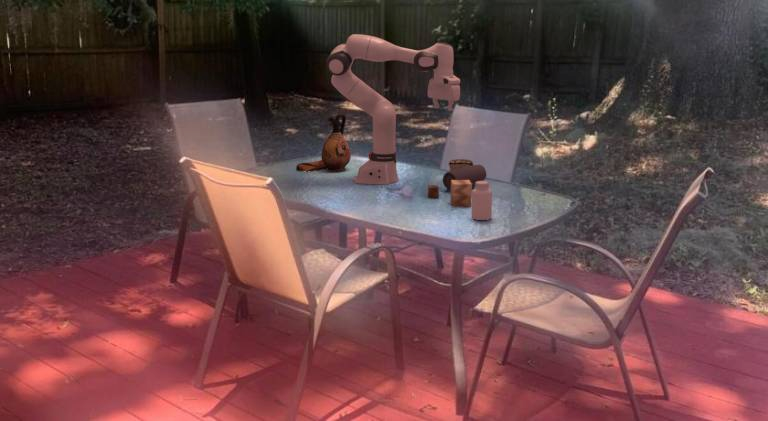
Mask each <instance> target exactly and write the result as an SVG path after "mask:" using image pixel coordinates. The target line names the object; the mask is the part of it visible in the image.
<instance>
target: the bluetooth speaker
mask: <svg viewBox="0 0 768 421" xmlns="http://www.w3.org/2000/svg"><path fill="white" fill-rule="evenodd" d="M486 178H487V170H486V168H485V166H484V165H481V164H473V165H472V166H467V167H463V168H459V169H455V170H452V171H450V170H449V171H446V172H445V173H444V174H443V177H442V185H443V187H444V188H446V189H447V190H450V191H451V180H470V182H471V184H472V188H473V187H474V185H475V183H476V182H477V181H486V180H485V179H486Z"/></svg>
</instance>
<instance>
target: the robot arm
mask: <svg viewBox="0 0 768 421" xmlns="http://www.w3.org/2000/svg"><path fill="white" fill-rule="evenodd" d="M357 59H361V60H365V61H368V62H377V63H380V62H381V63H383V62H388V61H399V62H402V63H403V62H404V63H409V64H413V66H414V67H415V69H416V70H417V71H419V72H423V73H424V72H425V73H427V72H429V71H433V77H431V78H430V79H429V83H428V87H427V93H426V94H427V98H429V99H432V102H433V105H434V106H433V107H434V109H440V104H439V102H438V101H439V100H443V101H447V103H448V105H446V110H447V111H450V112H451V111H452V110H453V106H454V104H455V102H457V101H459V100H460V98H461V86H460V84H461V79H460V78H459V77H457V76H456V75H454V68H453V66H454V48H453V46H452V45H451V44H450V43H446V42H436V43H434V45H432V46H430V47H428V48H423V49H411V48H408V47H403V46H402V47H401V46H398V45H395V44H393V43H392V42H389V41H387V40H385V39H383V38H380V37H377V36H372V35H367V34H357V33H356V34H355V33H354V34H351V35H350V36H348V38H347V40H346V42H341V43H339V44H337V45H336V46H335V47H334V48H333V50H332V51H331V52H330V55H329V56H328V57H327V60H326V68H327V70H328V72H329V73H330V74H332V76H331V80H330V81H331V85H332V86H333V87H334V88H335V89H336V90H337V91H338V92H339V93H340V94H341V95H342V96H343V97H345V98H346V99H347V100H349V101H350V102H351V103H352V104H353V105H354V106H356V107H357V108H359V109H360V110H362V111H364V112H365V113H367V115H369V116H371V117H372V151H369V152H368V153H367V155H368V160H367V161H366V162H365V163H363V164H362V165H361V166H360V167H359V168H358V172H357V175H356V176H354V177H353V182H354V184H363V185H388V184H392V183H396V182H399V180H400V178H399V176H398V170H397V163H398V162H397V160H398V159H397V156H398V155H397V152H396V126H397V125H396V124H397V121H396V120H397V116H396V115H397V114H396V113H397V112H396V108H395V106H394V105H393V103H392V102H391V101H389V100H388V99H387V98H385V97H384V96H383V95H381V94H380V93H378V92H377V91H376V90H374V89H373V88H371V86H369V85H368V84H366V82H364V81H363V80H362V79H360V78H359V77H358V76H356V75H355V74H354V73H353V71H352V68H353V66H354V63H355V61H356V60H357Z"/></svg>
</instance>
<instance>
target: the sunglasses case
mask: <svg viewBox="0 0 768 421" xmlns="http://www.w3.org/2000/svg"><path fill="white" fill-rule="evenodd" d="M295 169H296V171H297V170H301V171H306V173H309V172H308V171H311V172H314V170H316V171H320V170H321V171H322V170H326V169H327V167H326V166H325V165H324V163H323V161H322V159H320V160H315V161H310V162H309V161H308V162H301V163H298V164H297V165H296V168H295ZM301 171H300V172H301Z"/></svg>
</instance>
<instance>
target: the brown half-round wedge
mask: <svg viewBox="0 0 768 421" xmlns="http://www.w3.org/2000/svg"><path fill="white" fill-rule="evenodd" d="M447 164H448V166H449V171H452V170H455V169H459V168H463V167H467V166H472V165H474V161H473V160H471V159H464V158H459V159H457V158H456V159H451V160H449V162H448V163H447Z"/></svg>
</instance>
